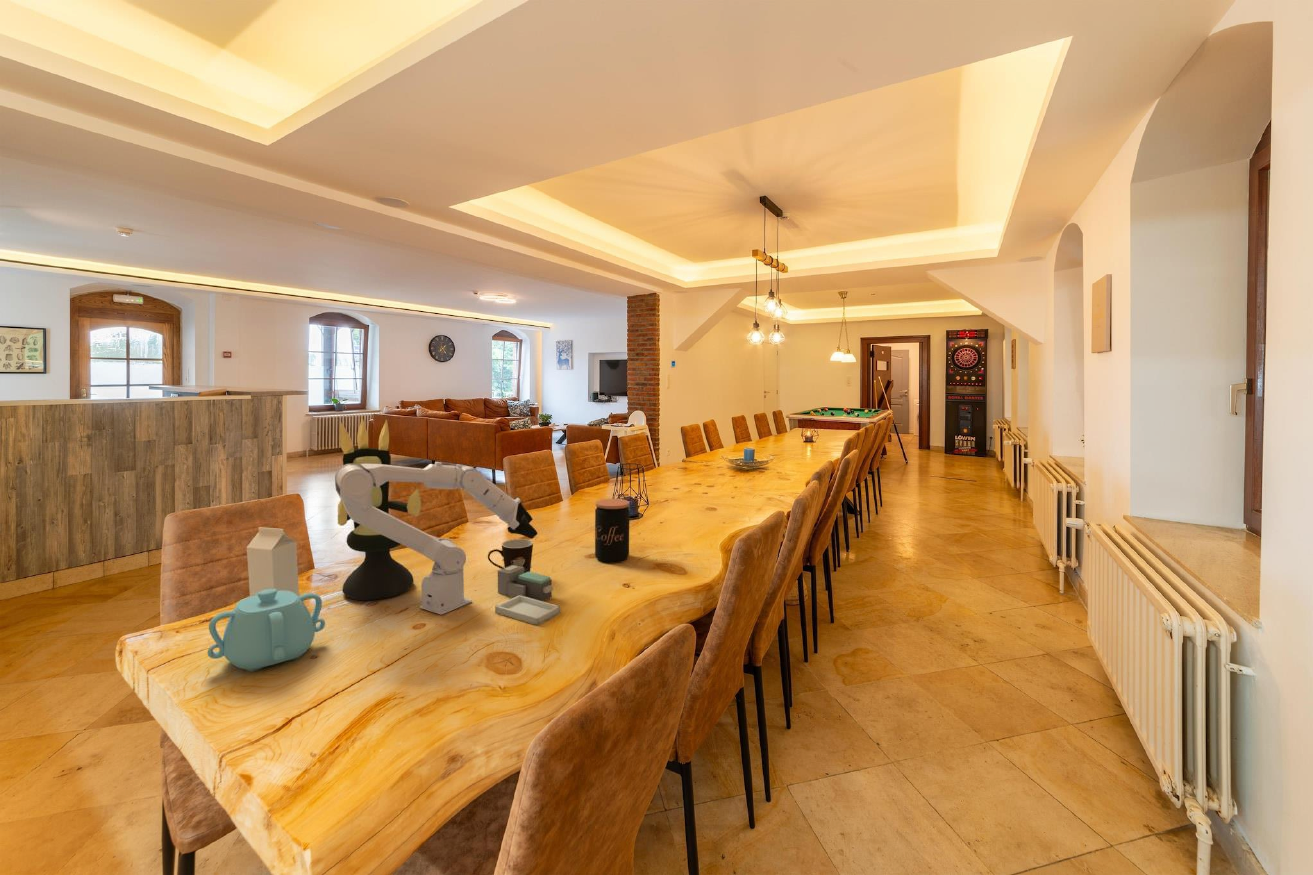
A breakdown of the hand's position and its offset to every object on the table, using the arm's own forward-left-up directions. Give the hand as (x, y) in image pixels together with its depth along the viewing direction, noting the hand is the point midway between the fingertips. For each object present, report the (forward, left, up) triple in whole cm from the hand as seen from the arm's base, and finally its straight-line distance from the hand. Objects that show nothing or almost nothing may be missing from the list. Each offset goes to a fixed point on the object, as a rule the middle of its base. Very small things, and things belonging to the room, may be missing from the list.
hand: (532, 528), depth 150 cm
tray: (-14, -11, -16) cm, 24 cm away
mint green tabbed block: (-5, -6, -16) cm, 18 cm away
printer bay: (-5, 0, -16) cm, 17 cm away
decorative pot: (-56, +18, -16) cm, 61 cm away
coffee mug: (+2, +9, -16) cm, 19 cm away
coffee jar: (+31, -5, -16) cm, 35 cm away
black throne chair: (-23, +34, -16) cm, 44 cm away
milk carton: (-42, +45, -16) cm, 64 cm away
